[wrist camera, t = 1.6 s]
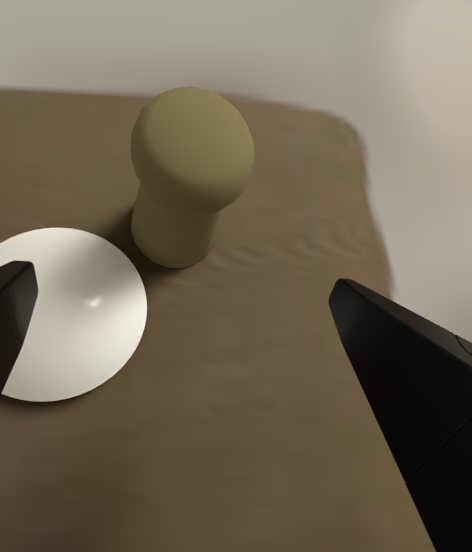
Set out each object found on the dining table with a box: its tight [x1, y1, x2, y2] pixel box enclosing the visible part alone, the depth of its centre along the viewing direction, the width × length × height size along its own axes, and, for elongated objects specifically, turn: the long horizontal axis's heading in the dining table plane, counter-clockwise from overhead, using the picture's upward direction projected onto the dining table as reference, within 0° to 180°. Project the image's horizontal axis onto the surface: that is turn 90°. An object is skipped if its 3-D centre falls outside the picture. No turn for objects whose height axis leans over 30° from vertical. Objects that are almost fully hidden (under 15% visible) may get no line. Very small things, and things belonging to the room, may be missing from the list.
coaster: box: [0, 228, 147, 402], centre depth 18 cm, size 10×10×1 cm
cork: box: [131, 87, 254, 268], centre depth 17 cm, size 6×6×11 cm
